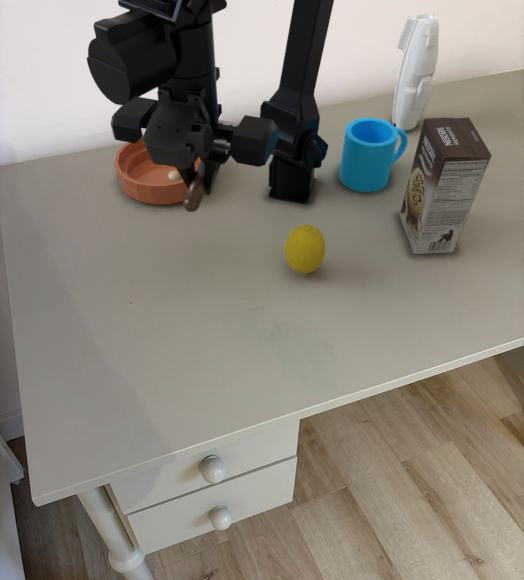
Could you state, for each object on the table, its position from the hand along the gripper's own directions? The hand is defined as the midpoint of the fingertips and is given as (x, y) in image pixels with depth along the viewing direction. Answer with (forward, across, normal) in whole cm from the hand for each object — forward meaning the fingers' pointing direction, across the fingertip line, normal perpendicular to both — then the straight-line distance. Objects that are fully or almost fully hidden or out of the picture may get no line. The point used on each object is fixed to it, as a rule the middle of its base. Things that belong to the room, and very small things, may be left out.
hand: (200, 191), depth 68 cm
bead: (+9, -11, +14) cm, 20 cm away
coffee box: (+11, +30, +15) cm, 35 cm away
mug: (+11, +19, +28) cm, 35 cm away
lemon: (+11, +14, +1) cm, 18 cm away
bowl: (+11, -13, +16) cm, 23 cm away
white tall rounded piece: (+11, +22, +44) cm, 51 cm away
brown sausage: (-1, -1, 0) cm, 1 cm away
